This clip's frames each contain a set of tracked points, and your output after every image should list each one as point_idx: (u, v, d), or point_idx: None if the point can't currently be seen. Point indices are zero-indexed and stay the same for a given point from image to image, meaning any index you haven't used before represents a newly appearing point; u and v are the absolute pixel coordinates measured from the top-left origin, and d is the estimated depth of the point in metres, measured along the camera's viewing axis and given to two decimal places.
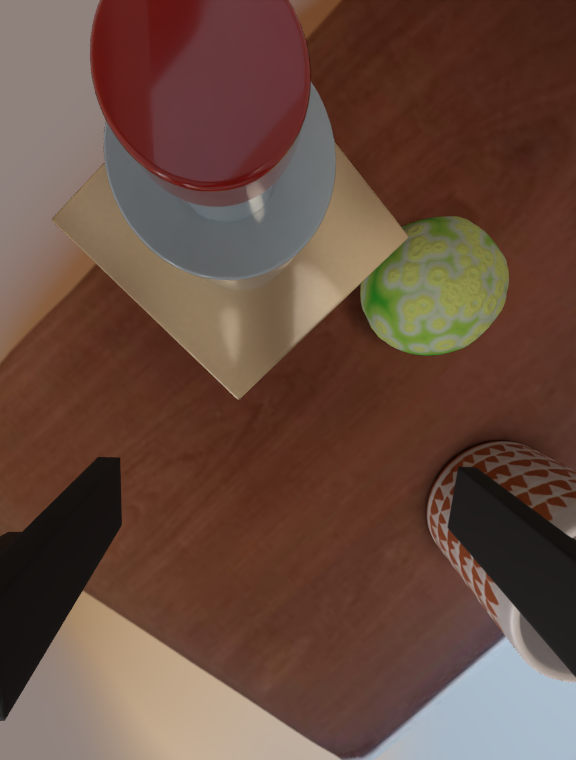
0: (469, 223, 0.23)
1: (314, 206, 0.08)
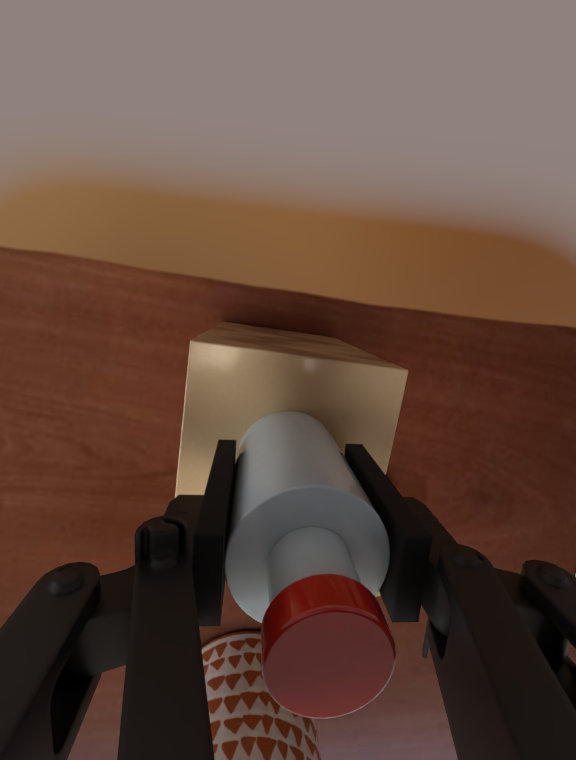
0: None
1: None
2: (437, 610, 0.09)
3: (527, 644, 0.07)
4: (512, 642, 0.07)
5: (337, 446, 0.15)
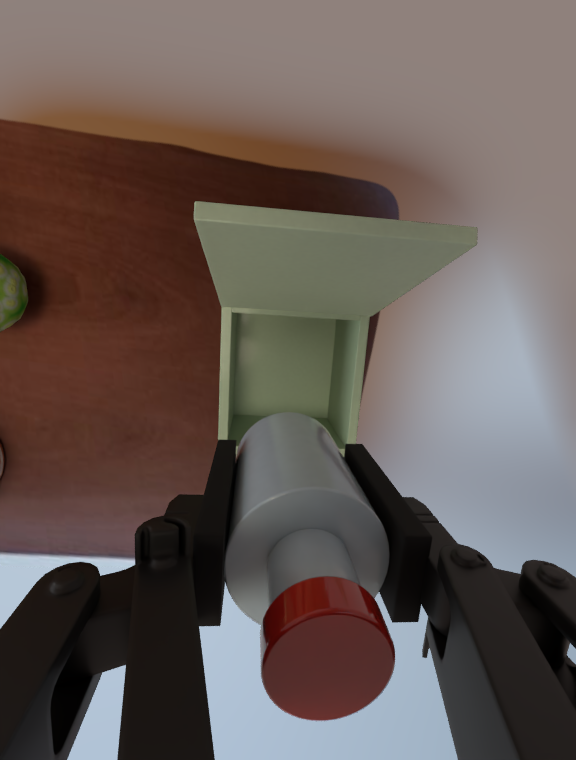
0: None
1: None
2: (437, 610, 0.09)
3: (527, 644, 0.07)
4: (512, 642, 0.07)
5: (337, 447, 0.15)
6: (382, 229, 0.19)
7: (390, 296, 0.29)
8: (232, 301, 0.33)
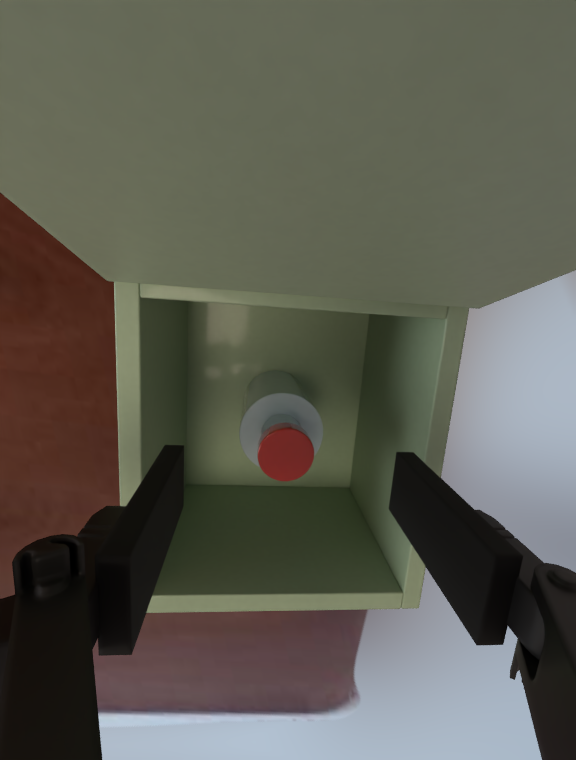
0: None
1: None
2: (529, 630, 0.09)
3: None
4: None
5: (303, 388, 0.25)
6: None
7: None
8: (118, 262, 0.12)
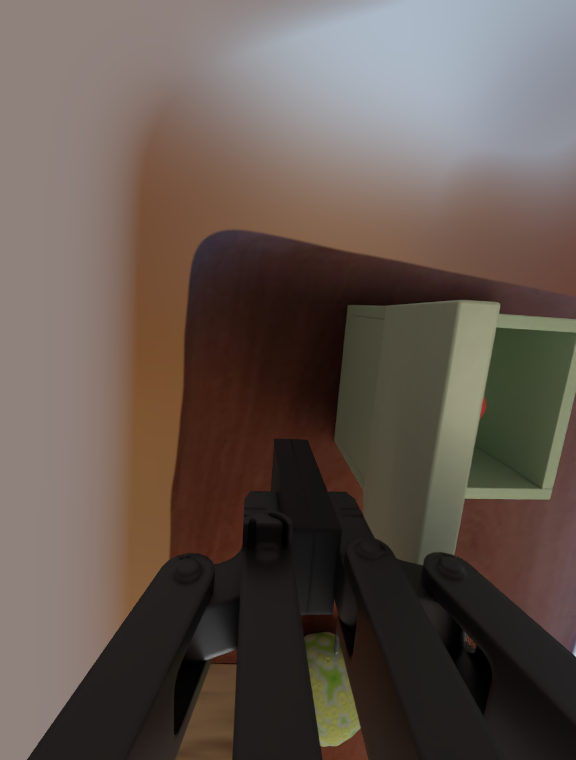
0: (314, 684, 0.38)
1: None
2: (345, 606, 0.09)
3: (426, 630, 0.07)
4: (413, 632, 0.07)
5: None
6: (450, 500, 0.10)
7: None
8: None
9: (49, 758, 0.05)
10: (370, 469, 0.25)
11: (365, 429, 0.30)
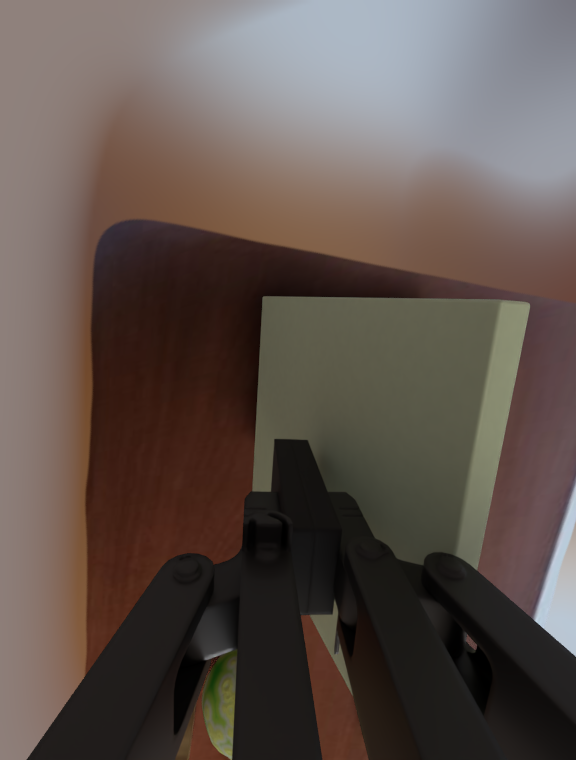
0: (229, 697, 0.36)
1: None
2: (345, 606, 0.09)
3: (426, 630, 0.07)
4: (413, 632, 0.07)
5: None
6: (479, 513, 0.09)
7: None
8: None
9: (49, 758, 0.05)
10: (267, 474, 0.23)
11: None
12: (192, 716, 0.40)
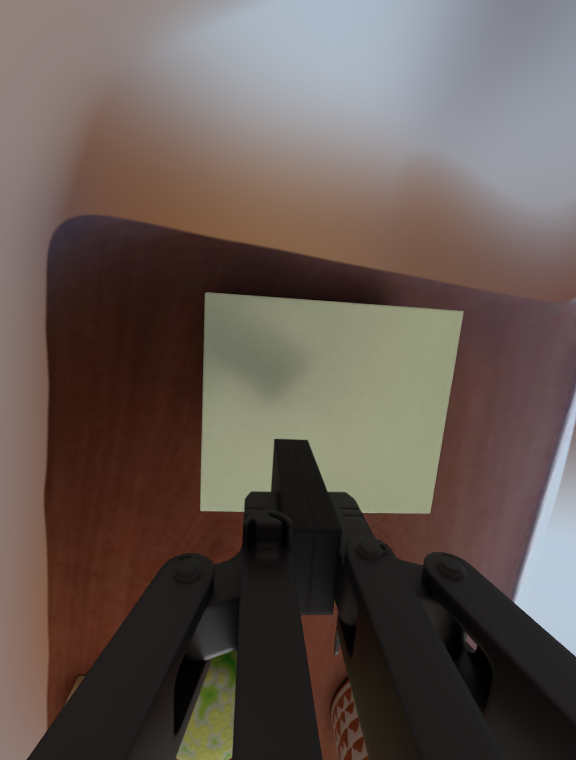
0: None
1: None
2: (345, 606, 0.09)
3: (426, 630, 0.07)
4: (413, 632, 0.07)
5: None
6: None
7: None
8: None
9: (49, 758, 0.05)
10: (244, 459, 0.25)
11: None
12: None
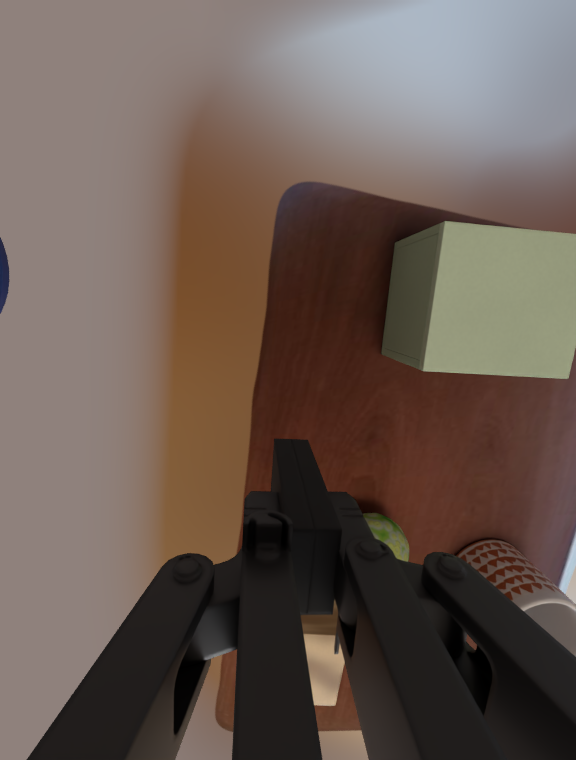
0: None
1: None
2: (345, 606, 0.09)
3: (426, 631, 0.07)
4: (413, 632, 0.07)
5: None
6: None
7: None
8: None
9: (49, 759, 0.05)
10: (454, 335, 0.38)
11: (416, 322, 0.40)
12: None
